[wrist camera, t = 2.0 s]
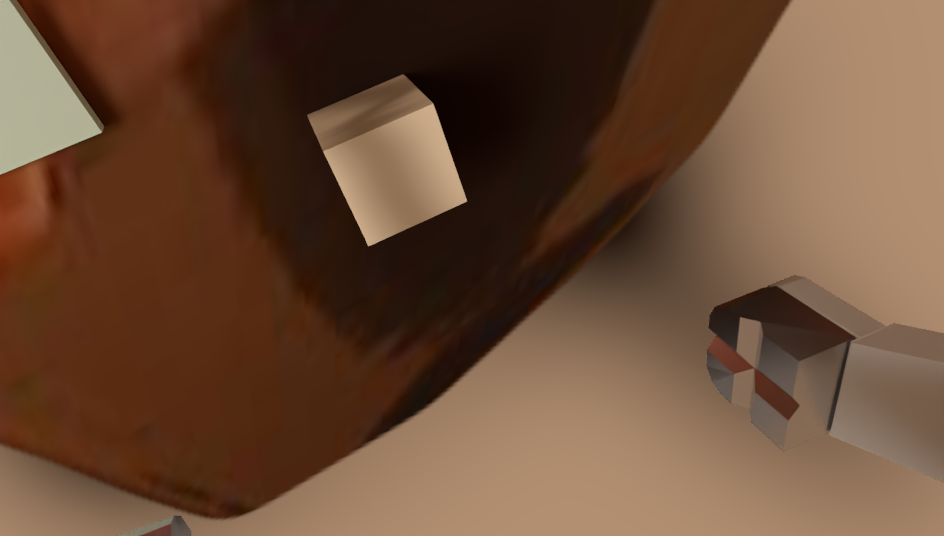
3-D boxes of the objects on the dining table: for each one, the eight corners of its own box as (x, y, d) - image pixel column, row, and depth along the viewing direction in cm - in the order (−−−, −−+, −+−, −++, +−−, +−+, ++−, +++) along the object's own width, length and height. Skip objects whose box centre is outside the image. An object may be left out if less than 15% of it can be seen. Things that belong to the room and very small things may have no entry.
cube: (403, 73, 31) (433, 103, 27) (435, 162, 34) (467, 201, 30) (306, 114, 30) (323, 151, 26) (348, 201, 33) (368, 246, 29)
